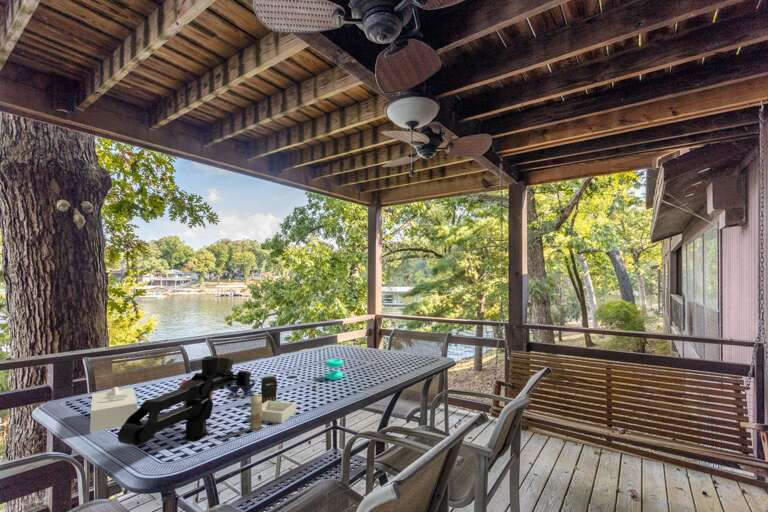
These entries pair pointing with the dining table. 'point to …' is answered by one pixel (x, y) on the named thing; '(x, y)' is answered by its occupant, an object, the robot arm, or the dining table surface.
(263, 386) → the battery charger
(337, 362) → the teal hourglass-shaped piece
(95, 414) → the tissue box
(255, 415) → the pin
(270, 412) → the tray
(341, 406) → the dining table surface
